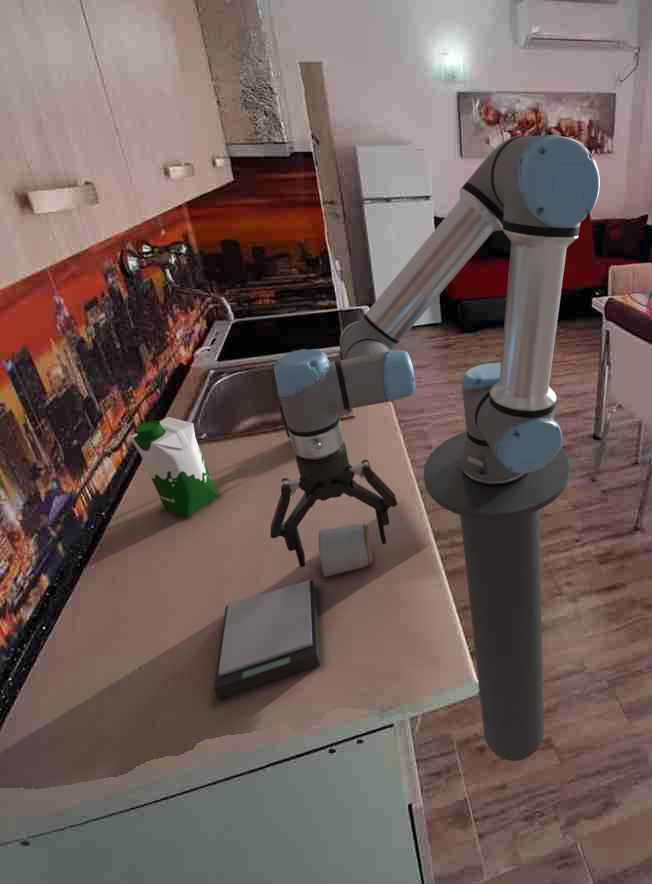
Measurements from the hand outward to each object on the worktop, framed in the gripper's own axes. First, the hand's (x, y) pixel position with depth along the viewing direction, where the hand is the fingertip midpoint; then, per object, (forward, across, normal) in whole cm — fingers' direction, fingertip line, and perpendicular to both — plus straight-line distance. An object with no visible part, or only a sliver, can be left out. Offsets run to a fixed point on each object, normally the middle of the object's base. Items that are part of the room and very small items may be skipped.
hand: (343, 549), depth 88 cm
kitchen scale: (+2, -12, -12) cm, 17 cm away
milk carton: (+3, -29, +29) cm, 41 cm away
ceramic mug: (+2, 0, 0) cm, 3 cm away
